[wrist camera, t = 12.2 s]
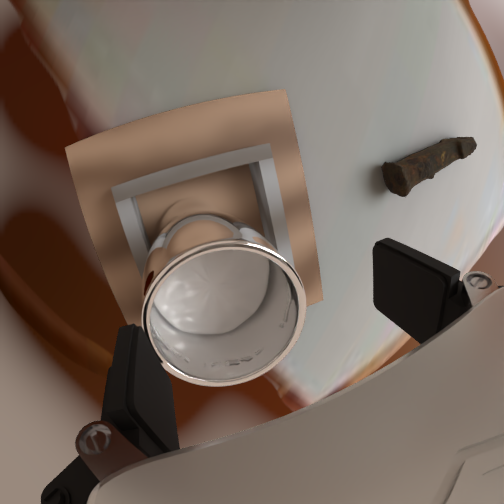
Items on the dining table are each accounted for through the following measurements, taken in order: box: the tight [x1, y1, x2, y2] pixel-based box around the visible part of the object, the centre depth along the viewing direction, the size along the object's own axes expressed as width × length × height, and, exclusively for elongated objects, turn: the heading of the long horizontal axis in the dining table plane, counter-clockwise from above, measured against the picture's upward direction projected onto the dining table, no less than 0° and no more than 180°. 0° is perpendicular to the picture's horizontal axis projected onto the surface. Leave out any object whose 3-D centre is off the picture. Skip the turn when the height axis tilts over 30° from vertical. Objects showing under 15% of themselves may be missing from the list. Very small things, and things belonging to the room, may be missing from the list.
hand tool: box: [382, 137, 477, 197], centre depth 29 cm, size 19×4×5 cm, turn 111°
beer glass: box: [141, 198, 306, 386], centre depth 17 cm, size 7×7×15 cm
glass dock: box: [65, 89, 323, 327], centre depth 24 cm, size 22×20×4 cm
